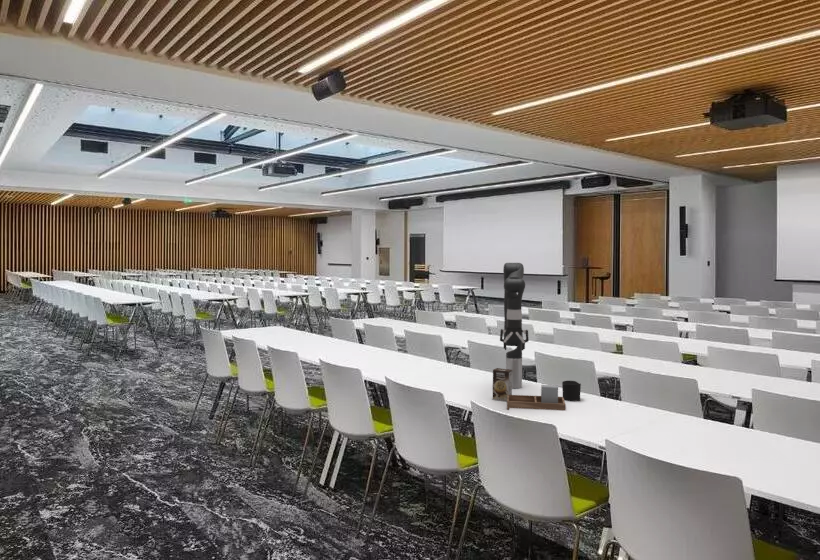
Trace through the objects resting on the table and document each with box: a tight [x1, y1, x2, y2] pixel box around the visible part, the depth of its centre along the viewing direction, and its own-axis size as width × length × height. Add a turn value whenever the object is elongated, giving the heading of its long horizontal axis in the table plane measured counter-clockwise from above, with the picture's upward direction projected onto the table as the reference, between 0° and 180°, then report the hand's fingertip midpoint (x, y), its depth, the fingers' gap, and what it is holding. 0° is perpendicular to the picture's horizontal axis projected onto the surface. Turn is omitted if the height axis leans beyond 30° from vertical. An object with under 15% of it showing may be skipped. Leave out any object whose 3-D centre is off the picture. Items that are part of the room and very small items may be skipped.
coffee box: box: [492, 367, 513, 402], centre depth 312 cm, size 9×6×16 cm
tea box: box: [540, 384, 559, 404], centre depth 295 cm, size 5×8×10 cm, turn 80°
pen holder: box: [561, 380, 582, 402], centre depth 307 cm, size 9×9×10 cm
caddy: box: [506, 394, 567, 411], centre depth 296 cm, size 15×28×4 cm, turn 80°
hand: (514, 350), depth 295 cm, fingers open, 8 cm apart
